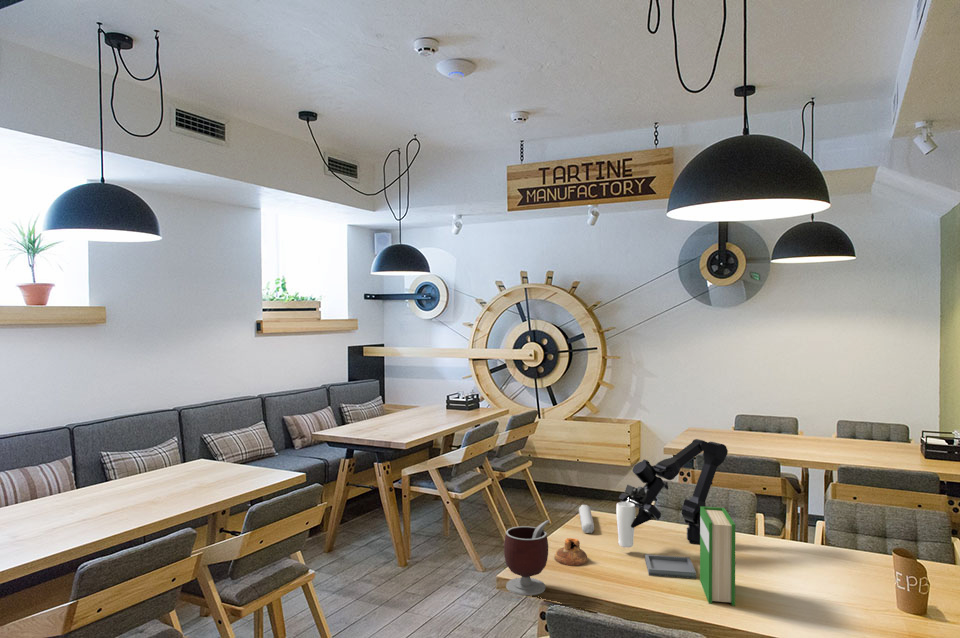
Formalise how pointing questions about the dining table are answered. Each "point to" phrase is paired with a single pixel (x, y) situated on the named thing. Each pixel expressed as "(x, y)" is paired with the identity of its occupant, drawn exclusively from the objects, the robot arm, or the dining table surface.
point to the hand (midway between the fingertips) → (626, 524)
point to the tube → (586, 519)
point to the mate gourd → (526, 558)
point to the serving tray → (670, 566)
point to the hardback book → (717, 554)
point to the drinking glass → (625, 523)
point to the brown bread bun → (571, 553)
